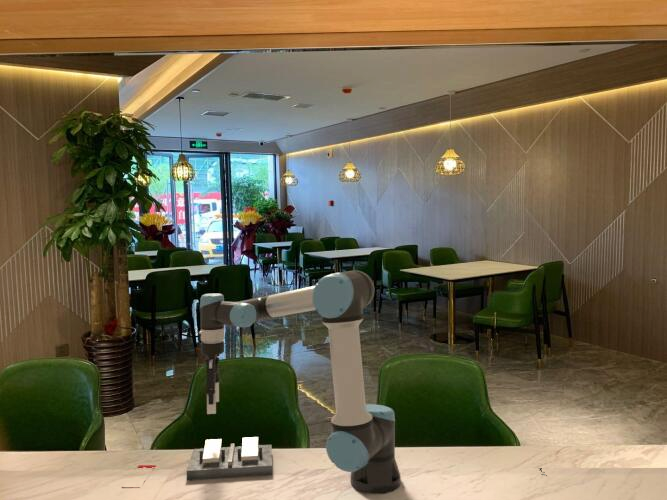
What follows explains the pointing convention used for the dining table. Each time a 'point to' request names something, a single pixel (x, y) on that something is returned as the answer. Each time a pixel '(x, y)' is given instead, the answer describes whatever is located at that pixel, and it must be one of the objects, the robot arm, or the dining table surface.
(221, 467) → the breaker box
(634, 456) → the dining table surface
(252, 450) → the breaker right
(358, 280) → the robot arm
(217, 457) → the breaker left
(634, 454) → the dining table surface
